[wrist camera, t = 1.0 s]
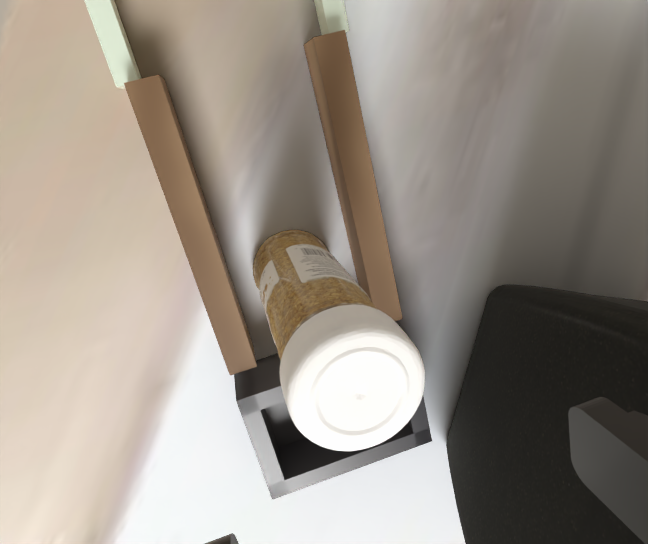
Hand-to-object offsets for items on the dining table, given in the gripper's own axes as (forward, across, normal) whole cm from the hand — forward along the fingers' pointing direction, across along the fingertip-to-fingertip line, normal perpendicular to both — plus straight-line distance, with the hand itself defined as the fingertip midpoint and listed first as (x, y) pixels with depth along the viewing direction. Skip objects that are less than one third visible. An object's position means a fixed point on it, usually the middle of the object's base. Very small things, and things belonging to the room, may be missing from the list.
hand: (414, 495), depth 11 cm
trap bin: (+18, 0, +9) cm, 20 cm away
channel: (+18, 0, -3) cm, 18 cm away
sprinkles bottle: (+18, 0, 0) cm, 18 cm away
